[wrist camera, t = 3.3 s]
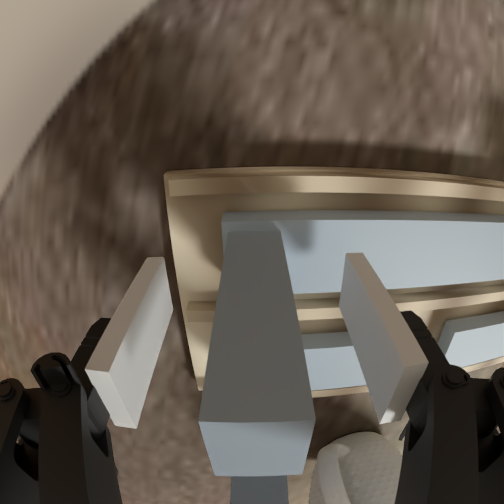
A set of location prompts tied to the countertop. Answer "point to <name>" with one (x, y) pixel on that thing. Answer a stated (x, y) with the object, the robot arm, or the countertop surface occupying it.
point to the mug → (356, 471)
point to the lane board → (317, 198)
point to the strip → (286, 319)
